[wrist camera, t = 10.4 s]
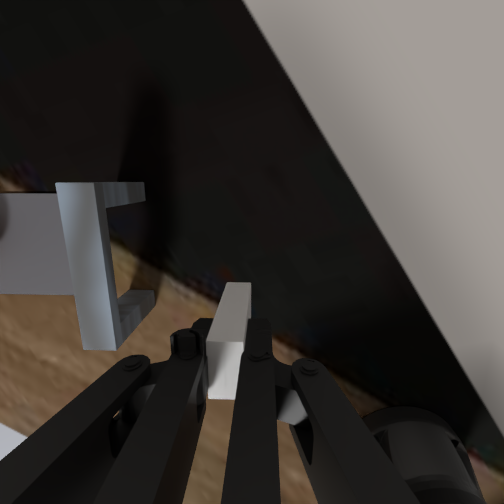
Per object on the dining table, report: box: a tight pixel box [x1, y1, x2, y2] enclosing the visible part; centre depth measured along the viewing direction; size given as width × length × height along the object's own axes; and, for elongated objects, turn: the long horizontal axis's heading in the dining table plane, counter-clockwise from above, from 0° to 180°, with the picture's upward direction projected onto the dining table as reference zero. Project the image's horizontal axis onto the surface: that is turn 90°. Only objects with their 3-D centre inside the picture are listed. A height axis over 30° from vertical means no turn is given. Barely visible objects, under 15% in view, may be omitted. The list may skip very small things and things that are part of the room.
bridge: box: [55, 182, 155, 351], centre depth 28 cm, size 3×14×9 cm, turn 0°
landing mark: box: [0, 193, 74, 295], centre depth 32 cm, size 12×12×1 cm
